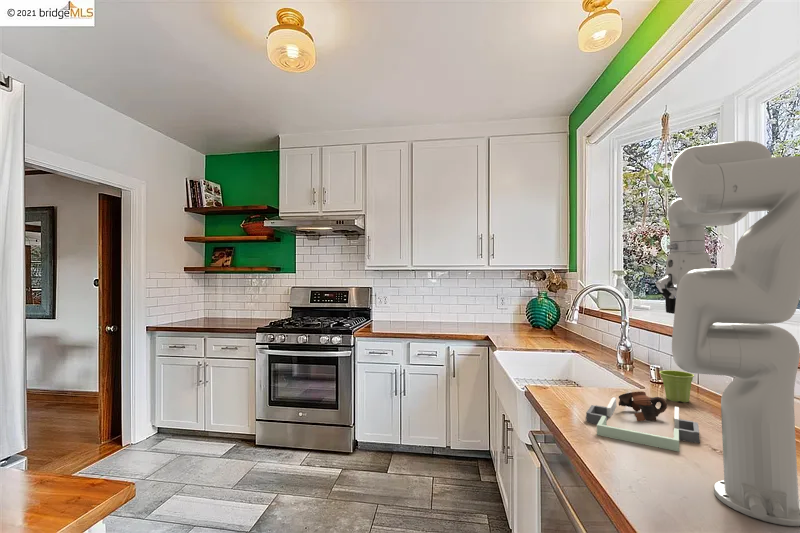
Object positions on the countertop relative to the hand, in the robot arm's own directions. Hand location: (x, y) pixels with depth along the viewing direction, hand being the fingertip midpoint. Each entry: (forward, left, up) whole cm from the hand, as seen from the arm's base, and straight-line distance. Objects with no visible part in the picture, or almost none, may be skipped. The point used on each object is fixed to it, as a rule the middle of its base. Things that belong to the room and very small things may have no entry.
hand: (688, 312), depth 102 cm
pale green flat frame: (-4, +12, -31) cm, 33 cm away
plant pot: (+28, +4, -31) cm, 42 cm away
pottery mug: (+4, +12, -31) cm, 33 cm away
